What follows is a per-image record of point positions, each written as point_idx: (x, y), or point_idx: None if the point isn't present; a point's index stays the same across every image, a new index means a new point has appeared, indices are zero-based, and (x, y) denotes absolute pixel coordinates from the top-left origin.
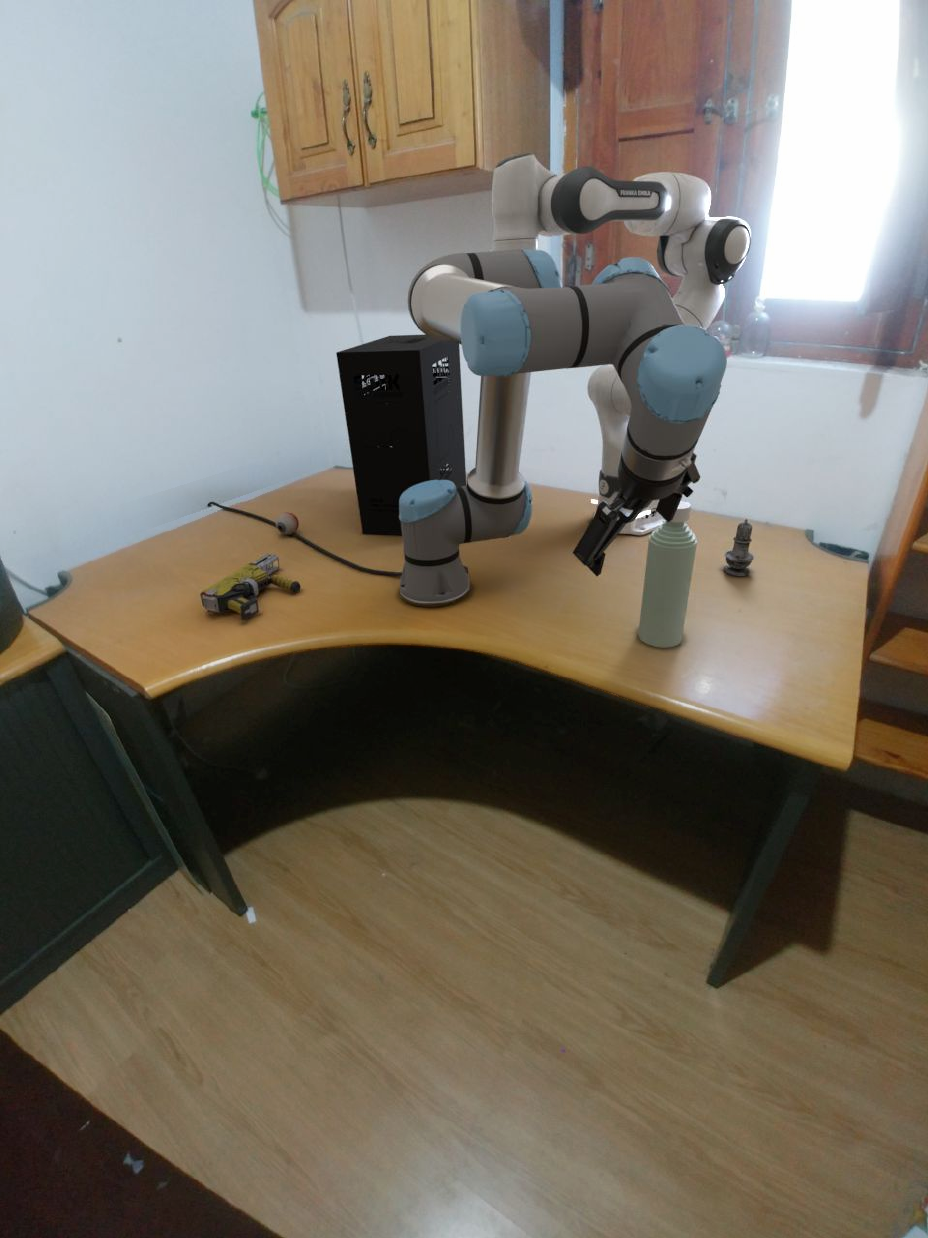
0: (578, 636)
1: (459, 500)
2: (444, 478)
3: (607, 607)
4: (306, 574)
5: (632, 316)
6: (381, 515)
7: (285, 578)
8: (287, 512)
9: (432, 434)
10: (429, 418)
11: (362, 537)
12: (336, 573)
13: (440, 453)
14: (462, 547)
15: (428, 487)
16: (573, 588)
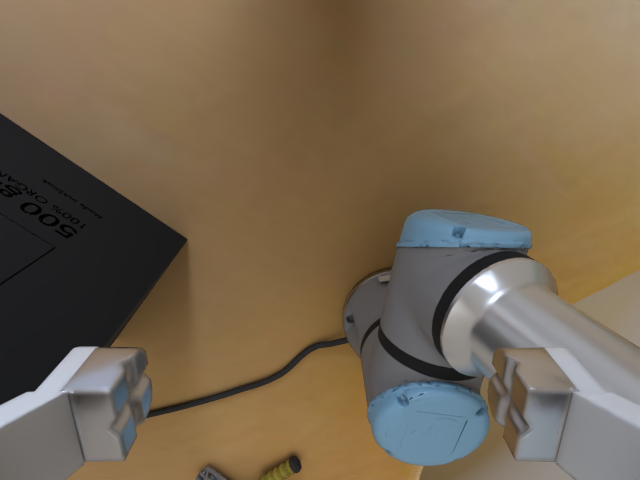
0: (634, 205)
1: (478, 378)
2: (50, 205)
3: (605, 117)
4: (242, 438)
5: None
6: (120, 331)
7: (278, 478)
8: None
9: (46, 313)
10: (32, 354)
11: (131, 343)
12: (259, 406)
13: (26, 243)
14: (260, 214)
15: (426, 429)
16: (519, 127)
